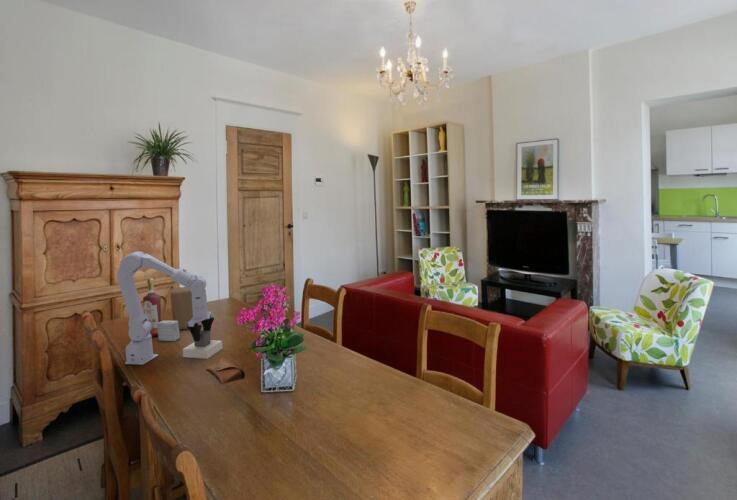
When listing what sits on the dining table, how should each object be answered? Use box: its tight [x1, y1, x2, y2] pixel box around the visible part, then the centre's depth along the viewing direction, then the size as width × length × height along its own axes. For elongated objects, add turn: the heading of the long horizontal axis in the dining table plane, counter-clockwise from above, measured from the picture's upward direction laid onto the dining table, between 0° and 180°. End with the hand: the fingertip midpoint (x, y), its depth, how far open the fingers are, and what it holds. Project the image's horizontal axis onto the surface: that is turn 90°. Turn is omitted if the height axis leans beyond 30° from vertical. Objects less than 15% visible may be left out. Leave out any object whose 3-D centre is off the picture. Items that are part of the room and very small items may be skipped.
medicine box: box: [157, 320, 181, 342], centre depth 180 cm, size 8×4×9 cm, turn 84°
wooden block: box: [170, 286, 193, 331], centre depth 198 cm, size 10×10×20 cm
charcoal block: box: [193, 329, 211, 347], centre depth 164 cm, size 4×4×6 cm
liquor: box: [142, 277, 162, 338], centre depth 186 cm, size 7×7×28 cm
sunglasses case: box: [205, 355, 246, 385], centre depth 145 cm, size 18×7×7 cm, turn 43°
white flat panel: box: [182, 339, 223, 360], centre depth 164 cm, size 11×11×4 cm
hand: (202, 337), depth 164 cm, fingers open, 7 cm apart
